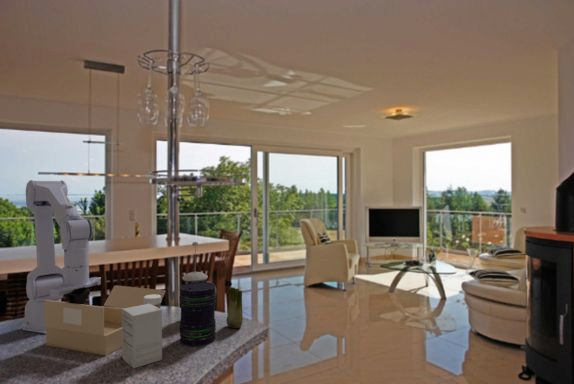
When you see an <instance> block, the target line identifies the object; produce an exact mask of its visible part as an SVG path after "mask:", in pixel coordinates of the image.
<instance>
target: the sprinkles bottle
mask: <svg viewBox="0 0 574 384" xmlns="http://www.w3.org/2000/svg"><path fill="white" fill-rule="evenodd" d="M143 304H152V305H154V306H156V307H158V308H160V309H161V304H162V301H161V296H160V295H157V294H152V295H146V296H144V298H143Z"/></svg>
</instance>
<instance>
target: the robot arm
mask: <svg viewBox="0 0 574 384" xmlns="http://www.w3.org/2000/svg"><path fill="white" fill-rule="evenodd" d="M68 190H69V189H68V185H67V183H66V182H65V181H64V180H31V179H30V180H29V181H28V182H27V183H26V187H25V202H26V203H25V205H26V208H27V210H30V211H31V212H32V213H33V217H34V229H35V231H34V232H35V247H36V248H35V249H36V262H37V263H36V264H37V266H36V267H34V268H33V269H32V270H31V271H30V272H28V274H27V276H26V288H25V289H26V290H25V291H26V296H27V298H28V299H29V300H28V301H27V302H26V303H25V308H24V327H22V329H21V330H22V331H26V332H27V331H28V332H32V333H40V334H44V335H46V327H44V325H45V300H52V301H60V302H62V298H65V299H66V300H67V302H68V303H76V304H84V305H86V301H87V299H88V297H89V296H90V294H91V290H90V289H86V288H91V287H94V286H99V285H101V284H102V283H101V282H102V281H101V278H102V277H99V276H98V277H97V276H94V277H90V255H89V249H90V247H89V246H90V245H89V241H91V239H92V238H93V231H94V228H93V224H92V222H91V220H90V218H86V217H82V216H81V214H80V212H79V211H78V209H77V208H76V206H75V205H74V204H72V203H69V202H68V198H67V197H68V194H69V193H68ZM54 219H55V222H57V224H58V226H59V237H60V240H61V248H62V249H63V263H64V265H63V267H64V268H63V267H61V266H59V265H57V263H56V261H57V260H56V251H55V250H56V249H55V248H56V247H55V233H54V232H55V231H54V222H53V221H54ZM46 275H47V276H46Z"/></svg>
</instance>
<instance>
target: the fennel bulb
mask: <svg viewBox="0 0 574 384" xmlns="http://www.w3.org/2000/svg"><path fill="white" fill-rule="evenodd" d="M228 289H229V302H228V303H229V304H228V309H227V310H228V311H227V316H226V325H227V326H228V327H229V328H231V329H238V328H241V326H242V325H243V320H244V319H243V318H244V317H243V316H244V315H243V290H242V289H240V288H237V287H234V286H230V287H229V288H228Z"/></svg>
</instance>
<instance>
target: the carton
mask: <svg viewBox="0 0 574 384" xmlns="http://www.w3.org/2000/svg"><path fill="white" fill-rule="evenodd" d="M100 307H104V335H96V334H89V333H83V332H76V331H70V330H63V329H57V328H50V327H46V334H45V345H46V346H49V347H53V348H54V347H55V348H60V349H66V350H72V351H77V352H82V353H89V354H95V355H100V356H101V355H102V356H108V355H110V354H112V353H114V352H116V351H118V350H119V349H122V309H123V308H119V307H111V306H104V305H101V306H100Z"/></svg>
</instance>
